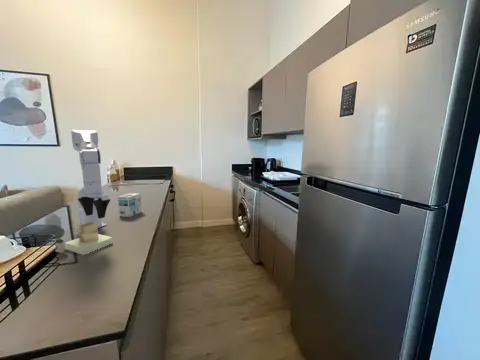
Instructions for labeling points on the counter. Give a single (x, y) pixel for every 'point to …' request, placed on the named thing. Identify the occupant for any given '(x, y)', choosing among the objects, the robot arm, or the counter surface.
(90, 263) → the counter surface
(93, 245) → the sage box
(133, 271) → the counter surface
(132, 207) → the light bulb box
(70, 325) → the counter surface
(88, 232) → the birch block
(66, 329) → the counter surface
